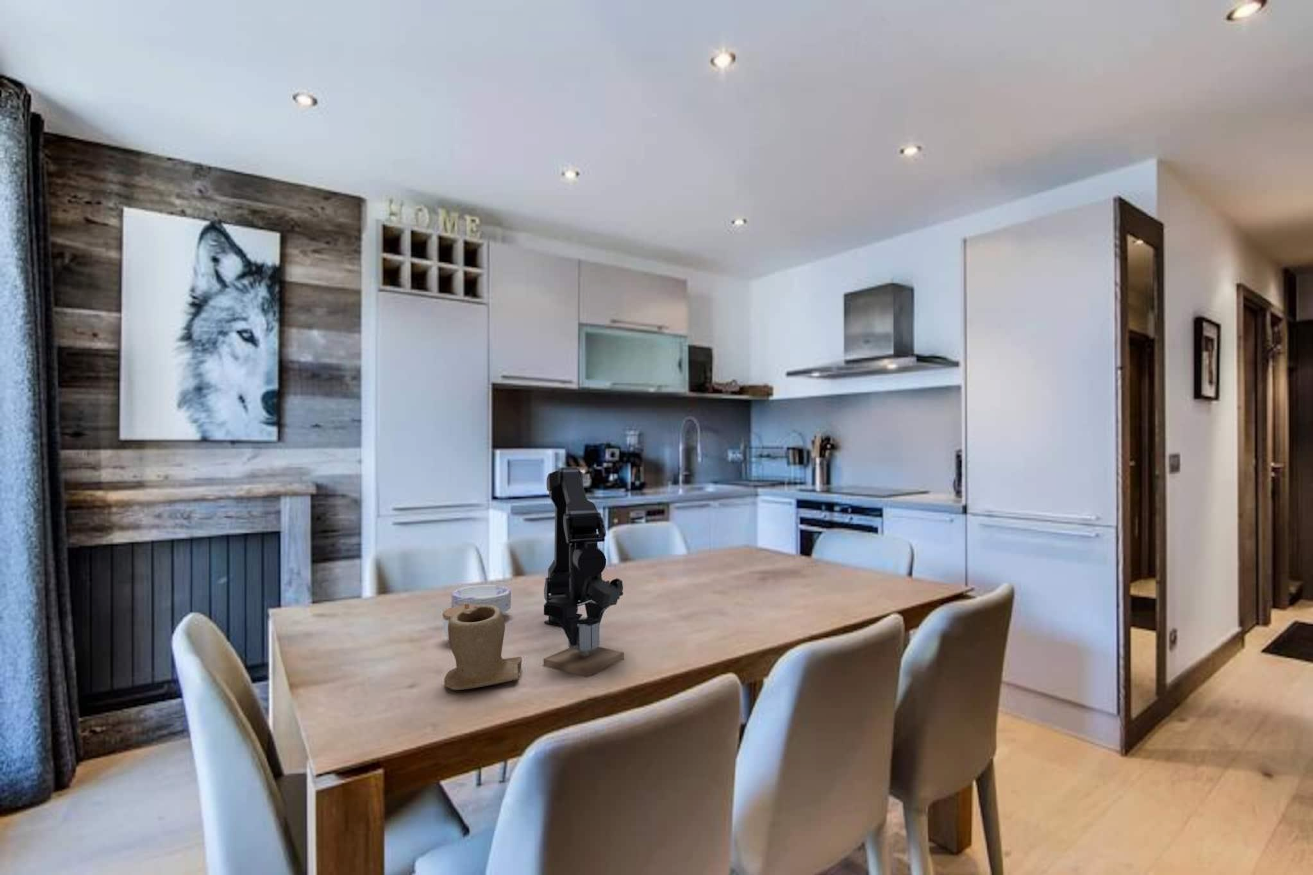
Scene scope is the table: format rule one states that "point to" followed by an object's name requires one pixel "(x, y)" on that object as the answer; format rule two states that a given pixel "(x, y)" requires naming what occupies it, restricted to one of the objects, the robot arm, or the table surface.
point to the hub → (586, 634)
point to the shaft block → (583, 660)
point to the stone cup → (479, 649)
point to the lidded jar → (451, 611)
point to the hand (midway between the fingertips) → (583, 640)
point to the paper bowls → (483, 596)
